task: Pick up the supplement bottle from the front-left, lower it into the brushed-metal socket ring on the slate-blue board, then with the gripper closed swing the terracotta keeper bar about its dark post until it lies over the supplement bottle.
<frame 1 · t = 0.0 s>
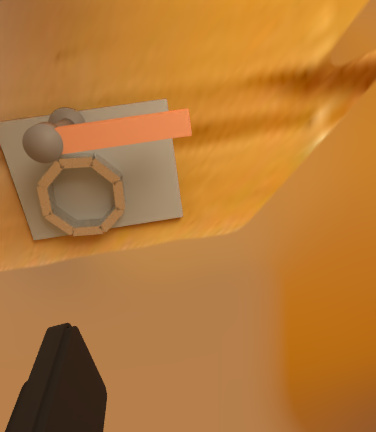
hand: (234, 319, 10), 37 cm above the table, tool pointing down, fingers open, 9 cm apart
socket: (86, 189, 46), resting on board
board: (97, 171, 46), on the table
keeper: (109, 133, 33), point 11 cm above the table, hinge at 0.0°
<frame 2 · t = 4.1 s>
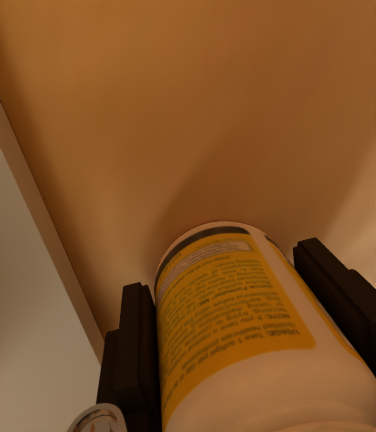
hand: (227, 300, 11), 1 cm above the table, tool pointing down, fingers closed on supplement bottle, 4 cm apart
supplement bottle: (218, 273, 13), on the table, touching gripper
when the fingers open (4 cm above the table, at t = 9.2 s): supplement bottle stays where it is, resting on board.
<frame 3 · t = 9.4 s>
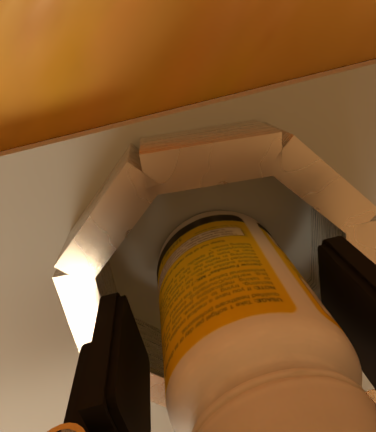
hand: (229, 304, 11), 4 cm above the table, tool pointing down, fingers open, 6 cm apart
socket: (208, 245, 15), resting on board
supplement bottle: (215, 259, 14), point 1 cm above the table, touching board
board: (175, 296, 15), on the table
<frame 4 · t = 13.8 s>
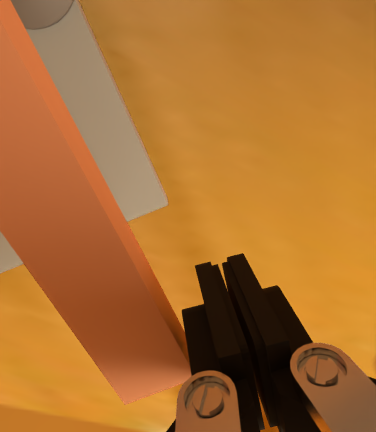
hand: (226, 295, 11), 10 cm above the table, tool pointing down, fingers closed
keeper: (26, 154, 8), point 11 cm above the table, hinge at 0.0°, touching gripper
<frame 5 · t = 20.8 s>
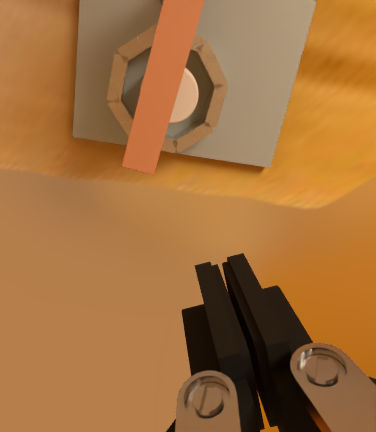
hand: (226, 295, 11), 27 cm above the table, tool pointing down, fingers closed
socket: (165, 90, 34), resting on board
supplement bottle: (165, 89, 33), point 1 cm above the table, touching board
board: (188, 71, 34), on the table
keeper: (168, 57, 23), point 11 cm above the table, hinge at 97.5°
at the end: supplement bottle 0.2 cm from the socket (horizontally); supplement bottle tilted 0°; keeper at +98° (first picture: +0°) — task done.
